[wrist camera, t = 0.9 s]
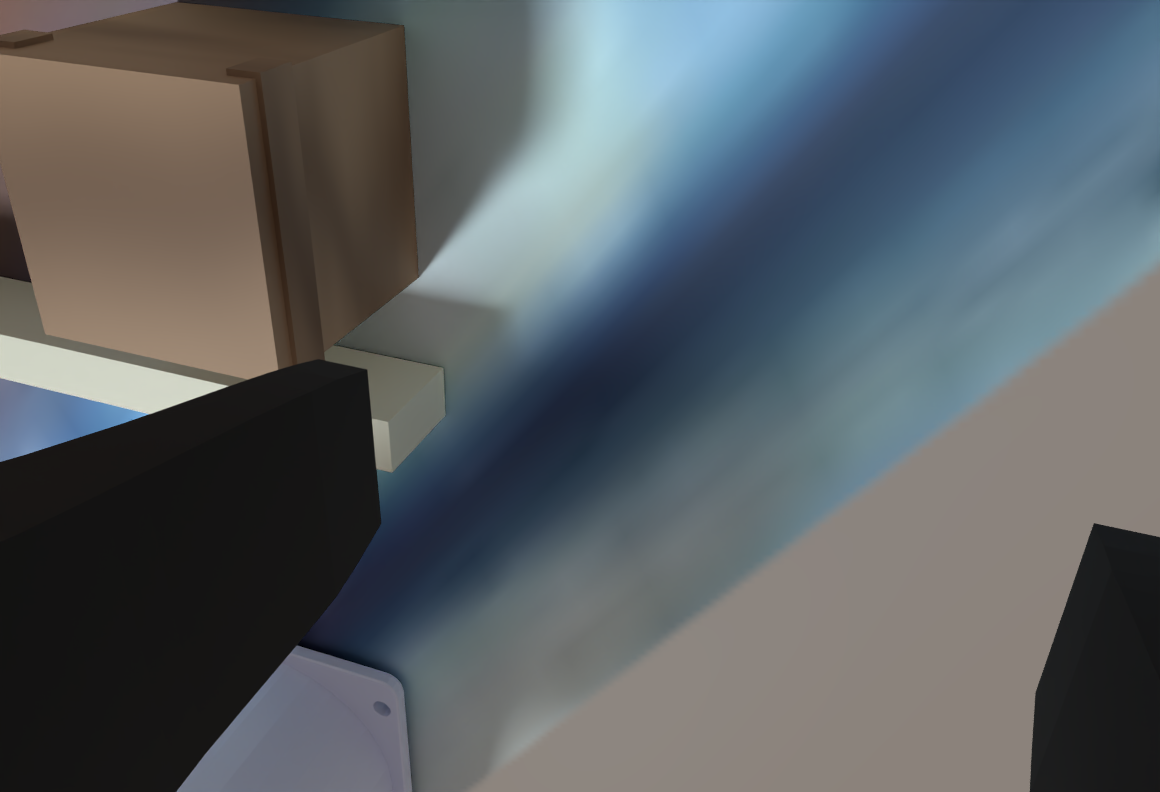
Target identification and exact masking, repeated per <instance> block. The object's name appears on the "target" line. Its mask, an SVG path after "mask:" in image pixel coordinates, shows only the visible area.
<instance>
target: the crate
mask: <svg viewBox="0 0 1160 792" xmlns="http://www.w3.org/2000/svg"><path fill="white" fill-rule="evenodd" d="M0 164H1V168H2V172H3V175H4V179H5V183H6V187H7V191H8V194H9V198H10V202H11V206H12V210H13V213H14V217H15V221H16V225H17V229H18V232H19V236H20V240H21V244H22V248H23V251H24V255H25V259H26V263H27V267H28V270H29V274H30V278H31V282H32V286H33V289H34V293H35V297H36V301H37V305H38V308H39V312H40V316H41V320H42V324H43V327H44V331H45V334H47V335H51V336H56V337H60V338H65V339H69V340H74V341H78V342H83V343H87V344H92V345H96V346H101V347H105V348H110V349H114V350H118V351H123V352H127V353H132V354H136V355H141V356H145V357H150V358H154V359H159V360H163V361H168V362H172V363H177V364H181V365H186V366H190V367H195V368H199V369H204V370H208V371H212V372H217V373H221V374H226V375H230V376H235V377H239V378H244V379H251V378H254V377H257V376H260V375H263V374H266V373H269V372H273V371H276V370H279V369H282V368H285V367H289V366H292V365H296V364H300V363H304V362H308V361H313V360H317V359H320V360H325V355H324V352H325V351H326V350H328V349H329V348H330V347H332V346H333V345H334V344H335V343H337V342H338V341H339V340H340V339H342V338H343V337H344V336H345V335H347V334H348V333H349V332H351V331H352V330H353V329H354V328H356V327H357V326H358V325H359V324H361V323H362V322H363V321H364V320H366V319H367V318H368V317H369V316H371V315H372V314H373V313H375V312H376V311H377V310H378V309H380V308H381V307H382V306H383V305H385V304H386V303H387V302H388V301H390V300H391V299H392V298H393V297H395V296H396V295H397V294H399V293H400V292H401V291H402V290H404V289H405V288H406V287H407V286H409V285H410V284H411V283H412V282H414V281H415V280H416V279H418V278H419V275H418V257H417V240H416V223H415V206H414V188H413V171H412V154H411V137H410V119H409V102H408V85H407V67H406V50H405V33H404V25H395V24H385V23H376V22H366V21H356V20H347V19H337V18H327V17H318V16H308V15H298V14H288V13H279V12H269V11H259V10H250V9H240V8H230V7H220V6H211V5H201V4H191V3H182V2H175V3H171V4H167V5H163V6H158V7H154V8H150V9H146V10H141V11H137V12H133V13H128V14H124V15H120V16H116V17H111V18H107V19H103V20H99V21H94V22H90V23H86V24H82V25H77V26H73V27H69V28H65V29H60V30H56V31H52V32H47V33H46V32H38V31H29V30H21V31H16V32H12V33H7V34H3V35H0Z"/></svg>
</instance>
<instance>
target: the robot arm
mask: <svg viewBox="0 0 1160 792" xmlns="http://www.w3.org/2000/svg"><path fill="white" fill-rule="evenodd" d="M380 525H381V515H380V504H379V493H378V482H377V470H376V459H375V448H374V437H373V426H372V415H371V404H370V393H369V382H368V371H367V369H363V368H358V367H353V366H349V365H344V364H339V363H334V362H330V361H325V360H320V359H317V360H313V361H308V362H304V363H300V364H296V365H292V366H289V367H285V368H282V369H279V370H276V371H273V372H269V373H266V374H263V375H260V376H257V377H254V378H251V379H248V380H245V381H243V382H240V383H237V384H234V385H231V386H228V387H225V388H222V389H220V390H217V391H214V392H211V393H208V394H206V395H203V396H200V397H197V398H194V399H191V400H189V401H186V402H183V403H180V404H177V405H174V406H172V407H169V408H166V409H163V410H160V411H157V412H155V413H152V414H149V415H146V416H143V417H140V418H138V419H135V420H132V421H129V422H126V423H123V424H120V425H117V426H114V427H111V428H108V429H104V430H101V431H98V432H95V433H92V434H89V435H86V436H83V437H80V438H76V439H73V440H70V441H67V442H64V443H61V444H58V445H55V446H52V447H48V448H45V449H42V450H39V451H36V452H33V453H30V454H27V455H23V456H20V457H16V458H13V459H9V460H6V461H3V462H0V792H412V782H411V770H410V758H409V747H408V735H407V723H406V711H405V699H404V690H403V687H402V685H401V683H400V682H399V680H398V679H397V678H395V677H394V676H393V675H391V674H389V673H386V672H383V671H380V670H376V669H373V668H370V667H366V666H363V665H360V664H357V663H353V662H350V661H347V660H343V659H340V658H337V657H334V656H330V655H327V654H324V653H320V652H317V651H314V650H311V649H307V648H304V647H301V646H297V644H298V643H299V642H300V641H301V640H302V638H303V637H304V636H305V635H306V633H307V632H308V631H309V630H310V629H311V627H312V626H313V625H314V624H315V623H316V621H317V620H318V619H319V618H320V616H321V615H322V614H323V613H324V611H325V610H326V609H327V608H328V606H329V605H330V604H331V603H332V601H333V600H334V599H335V598H336V596H337V595H338V593H339V592H340V590H341V589H342V587H343V585H344V584H345V582H346V581H347V579H348V578H349V576H350V575H351V573H352V572H353V570H354V568H355V567H356V565H357V564H358V562H359V560H360V559H361V557H362V555H363V554H364V552H365V550H366V548H367V547H368V545H369V543H370V542H371V540H372V538H373V537H374V535H375V533H376V531H377V530H378V528H379V526H380ZM1030 792H1160V537H1156V536H1152V535H1147V534H1142V533H1137V532H1133V531H1128V530H1123V529H1118V528H1114V527H1109V526H1104V525H1099V524H1095V523H1094V525H1093V527H1092V531H1091V534H1090V536H1089V539H1088V542H1087V545H1086V548H1085V551H1084V554H1083V556H1082V559H1081V562H1080V565H1079V568H1078V571H1077V574H1076V577H1075V580H1074V583H1073V586H1072V589H1071V591H1070V594H1069V597H1068V600H1067V603H1066V606H1065V609H1064V612H1063V615H1062V618H1061V620H1060V623H1059V626H1058V629H1057V632H1056V635H1055V638H1054V642H1053V644H1052V647H1051V650H1050V652H1049V656H1048V658H1047V661H1046V664H1045V667H1044V670H1043V673H1042V676H1041V679H1040V681H1039V684H1038V687H1037V690H1036V696H1035V712H1034V727H1033V742H1032V760H1031V780H1030Z"/></svg>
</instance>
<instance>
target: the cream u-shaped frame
mask: <svg viewBox="0 0 1160 792" xmlns="http://www.w3.org/2000/svg"><path fill="white" fill-rule="evenodd" d="M324 355H325V361H330V362H334V363H339V364H344V365H349V366H353V367H358V368H363V369H367V371H368V382H369V393H370V404H371V415H372V426H373V437H374V448H375V459H376V469H379V470H383V471H387V472H391V473H393V471H394V470H395V469H396V468H397V467H398V466H399V465H400V464H401V463H402V462H403V461H404V460H405V459H406V457H407V456H408V455H409V454H410V453H411V452H412V451H413V450H414V449H415V448H416V447H417V446H418V445H419V444H420V442H421V441H422V440H423V439H424V438H425V437H426V436H427V435H428V434H429V433H430V432H431V431H432V430H433V429H434V427H435V426H436V425H437V424H438V423H439V422H440V421H441V420H442V419H443V418H444V417H445V416H446V413H445V392H444V371H443V368H442V367H437V366H432V365H427V364H422V363H417V362H412V361H408V360H403V359H398V358H393V357H388V356H383V355H378V354H374V353H369V352H364V351H359V350H354V349H349V348H345V347H340V346H335V345H333V346H332V347H330V348H329V349H328V350H326V351H325V352H324ZM0 378H3V379H7V380H11V381H15V382H19V383H23V384H27V385H31V386H36V387H40V388H44V389H48V390H52V391H56V392H60V393H65V394H69V395H73V396H77V397H81V398H85V399H89V400H93V401H98V402H102V403H106V404H110V405H114V406H118V407H122V408H126V409H131V410H135V411H139V412H143V413H147V414H152V413H155V412H157V411H160V410H163V409H166V408H169V407H172V406H174V405H177V404H180V403H183V402H186V401H189V400H191V399H194V398H197V397H200V396H203V395H206V394H208V393H211V392H214V391H217V390H220V389H222V388H225V387H228V386H231V385H234V384H237V383H240V382H243V381H245V380H248V379H244V378H239V377H235V376H230V375H226V374H221V373H217V372H212V371H208V370H204V369H199V368H195V367H190V366H186V365H181V364H177V363H172V362H168V361H163V360H159V359H154V358H150V357H145V356H141V355H136V354H132V353H127V352H123V351H118V350H114V349H110V348H105V347H101V346H96V345H92V344H87V343H83V342H78V341H74V340H69V339H65V338H60V337H56V336H51V335H47V334H45V331H44V327H43V324H42V320H41V316H40V312H39V308H38V305H37V301H36V297H35V293H34V289H33V286H32V283H29V282H24V281H20V280H15V279H10V278H5V277H0Z"/></svg>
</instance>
